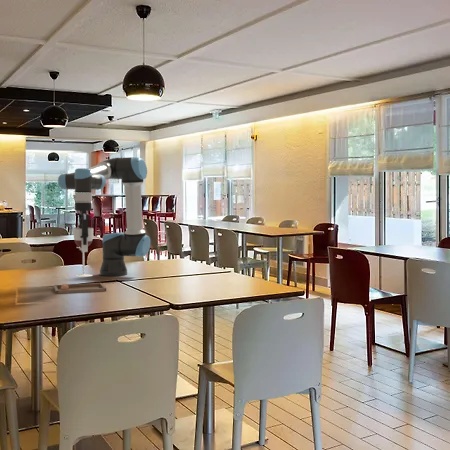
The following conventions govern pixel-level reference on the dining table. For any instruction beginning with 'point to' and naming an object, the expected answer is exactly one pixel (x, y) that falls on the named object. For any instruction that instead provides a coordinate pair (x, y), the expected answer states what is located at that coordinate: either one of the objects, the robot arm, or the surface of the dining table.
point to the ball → (64, 287)
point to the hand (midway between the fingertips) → (83, 251)
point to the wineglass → (77, 239)
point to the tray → (81, 288)
